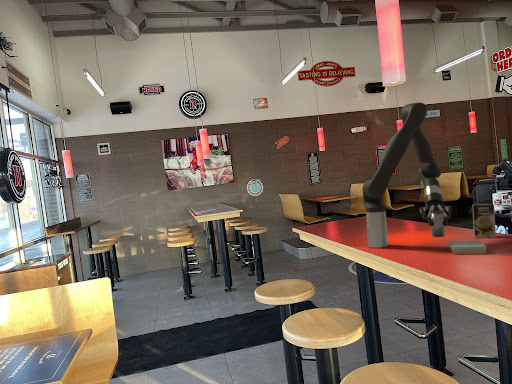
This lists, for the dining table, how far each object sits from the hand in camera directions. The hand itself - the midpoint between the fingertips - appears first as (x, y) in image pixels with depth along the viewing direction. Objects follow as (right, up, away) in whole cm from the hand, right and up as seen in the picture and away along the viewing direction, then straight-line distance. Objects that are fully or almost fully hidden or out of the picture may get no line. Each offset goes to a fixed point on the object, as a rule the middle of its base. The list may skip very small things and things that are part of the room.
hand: (438, 225), depth 170 cm
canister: (+1, -5, +2) cm, 6 cm away
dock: (+7, -10, -10) cm, 16 cm away
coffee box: (+31, -7, +16) cm, 36 cm away
